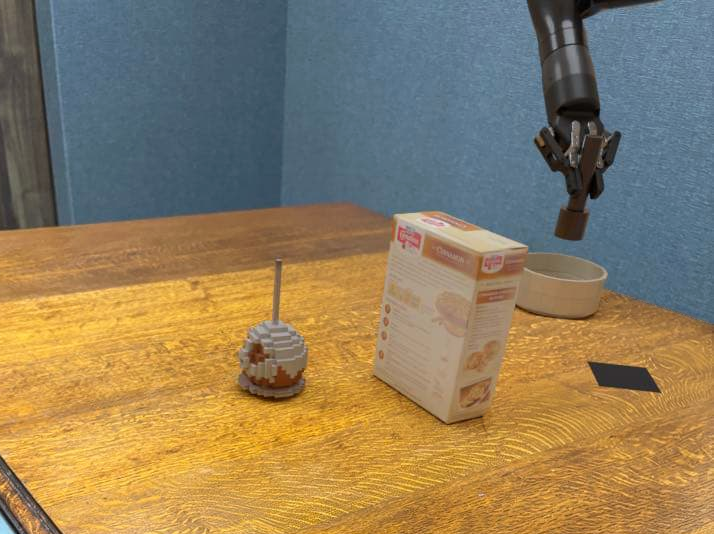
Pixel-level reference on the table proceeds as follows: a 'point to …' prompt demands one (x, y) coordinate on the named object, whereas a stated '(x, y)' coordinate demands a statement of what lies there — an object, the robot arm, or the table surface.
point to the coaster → (623, 377)
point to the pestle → (575, 212)
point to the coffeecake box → (446, 312)
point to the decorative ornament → (273, 354)
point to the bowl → (560, 285)
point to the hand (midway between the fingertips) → (586, 195)
